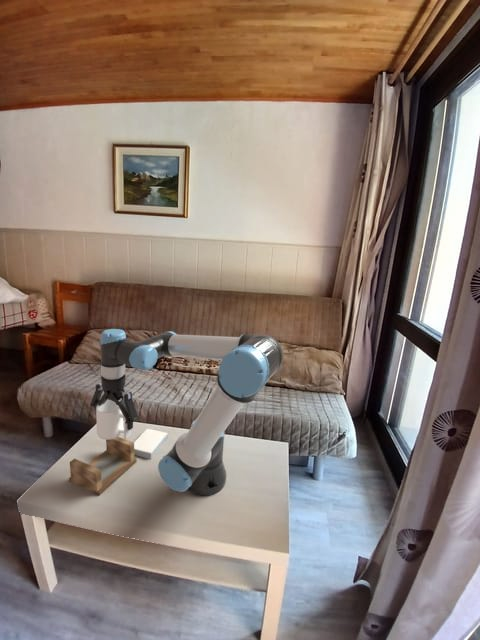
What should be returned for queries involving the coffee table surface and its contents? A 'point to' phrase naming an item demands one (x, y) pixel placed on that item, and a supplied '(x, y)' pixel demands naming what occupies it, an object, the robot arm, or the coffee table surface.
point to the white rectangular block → (149, 443)
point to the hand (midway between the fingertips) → (114, 430)
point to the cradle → (104, 466)
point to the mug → (109, 420)
